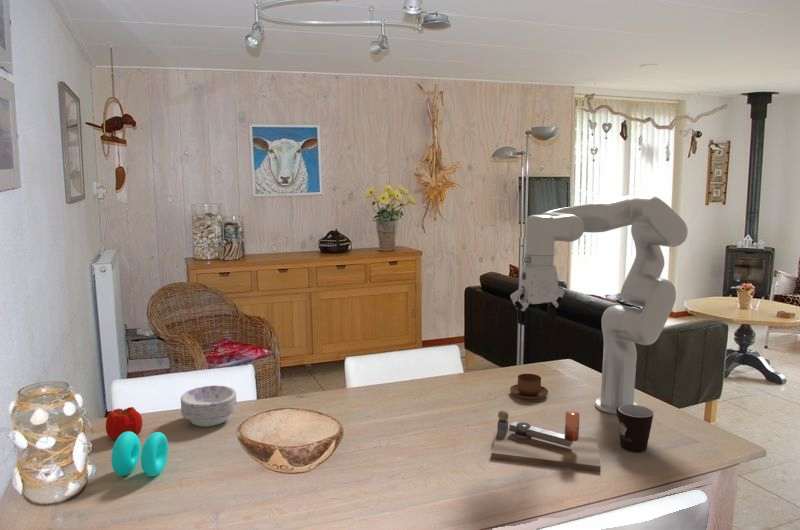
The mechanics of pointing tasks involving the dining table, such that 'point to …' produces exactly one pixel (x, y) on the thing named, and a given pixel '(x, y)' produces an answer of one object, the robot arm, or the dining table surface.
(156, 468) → the donuts
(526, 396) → the cup and saucer
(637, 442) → the coffee mug
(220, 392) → the paper bowls
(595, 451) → the wooden lever base
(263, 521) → the dining table surface
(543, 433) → the lever
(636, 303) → the robot arm
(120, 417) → the tomato
